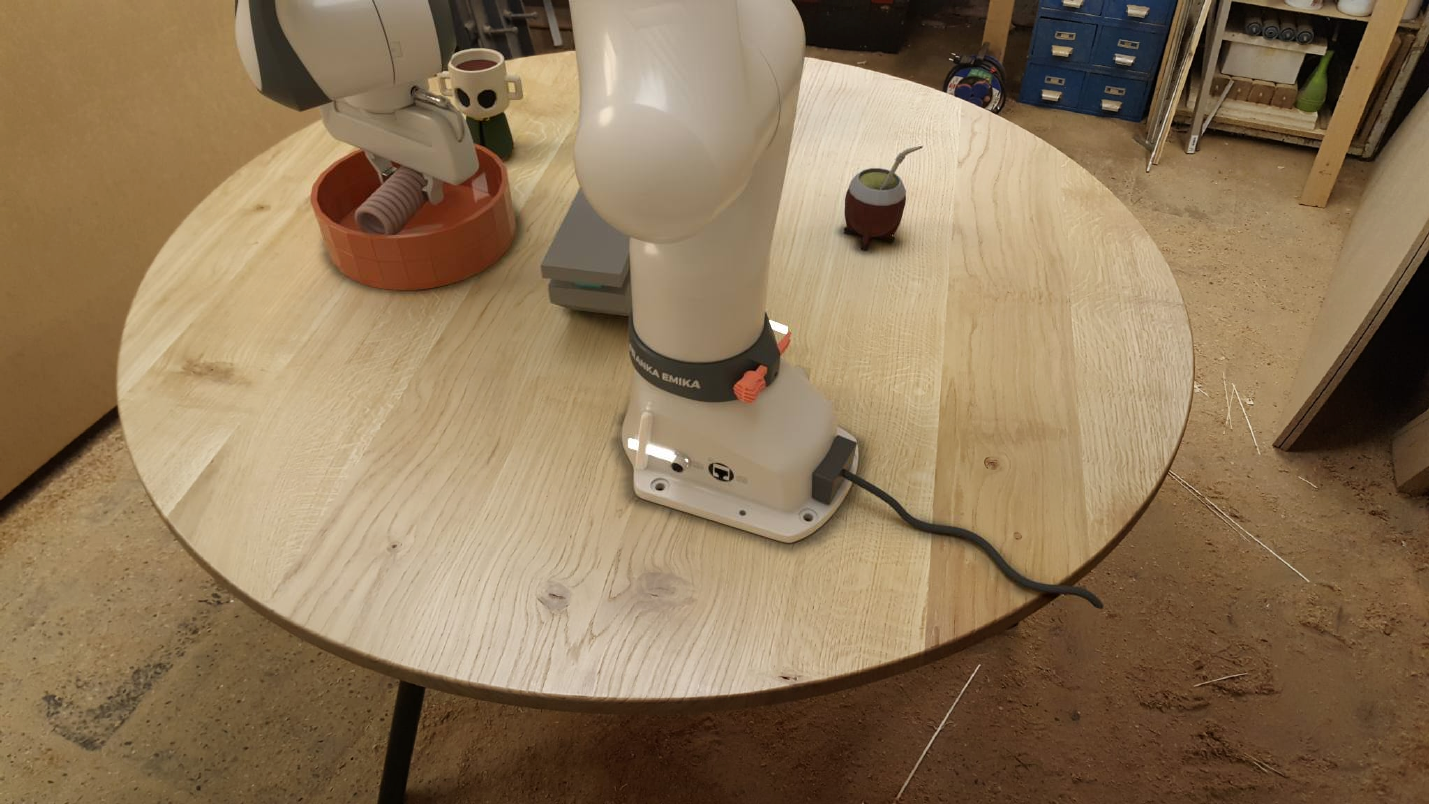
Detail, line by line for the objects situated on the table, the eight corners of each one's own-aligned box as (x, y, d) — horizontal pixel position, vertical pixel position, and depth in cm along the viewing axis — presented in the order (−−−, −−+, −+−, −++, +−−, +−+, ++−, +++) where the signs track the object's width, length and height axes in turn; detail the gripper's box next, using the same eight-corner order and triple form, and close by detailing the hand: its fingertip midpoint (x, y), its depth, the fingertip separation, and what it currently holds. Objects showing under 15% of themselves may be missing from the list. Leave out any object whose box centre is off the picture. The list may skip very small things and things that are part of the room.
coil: (386, 217, 92) (463, 136, 104) (346, 206, 92) (427, 127, 105) (392, 252, 95) (466, 170, 108) (353, 241, 96) (431, 161, 108)
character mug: (444, 164, 116) (424, 69, 107) (459, 138, 121) (441, 45, 112) (525, 169, 116) (512, 74, 107) (536, 142, 121) (524, 50, 112)
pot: (552, 219, 108) (546, 169, 103) (426, 314, 94) (411, 261, 89) (422, 168, 115) (410, 119, 110) (288, 250, 102) (268, 198, 97)
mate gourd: (847, 215, 110) (864, 103, 99) (909, 228, 108) (933, 116, 97) (833, 248, 105) (850, 133, 94) (897, 262, 103) (922, 147, 92)
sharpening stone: (626, 359, 90) (620, 274, 82) (552, 349, 91) (540, 265, 83) (672, 224, 107) (671, 144, 100) (610, 218, 108) (604, 137, 100)
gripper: (479, 90, 89) (499, 206, 99) (338, 42, 96) (370, 156, 106) (435, 114, 85) (461, 233, 95) (292, 63, 92) (329, 178, 102)
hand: (412, 192), depth 100 cm, fingers closed on coil, 5 cm apart
